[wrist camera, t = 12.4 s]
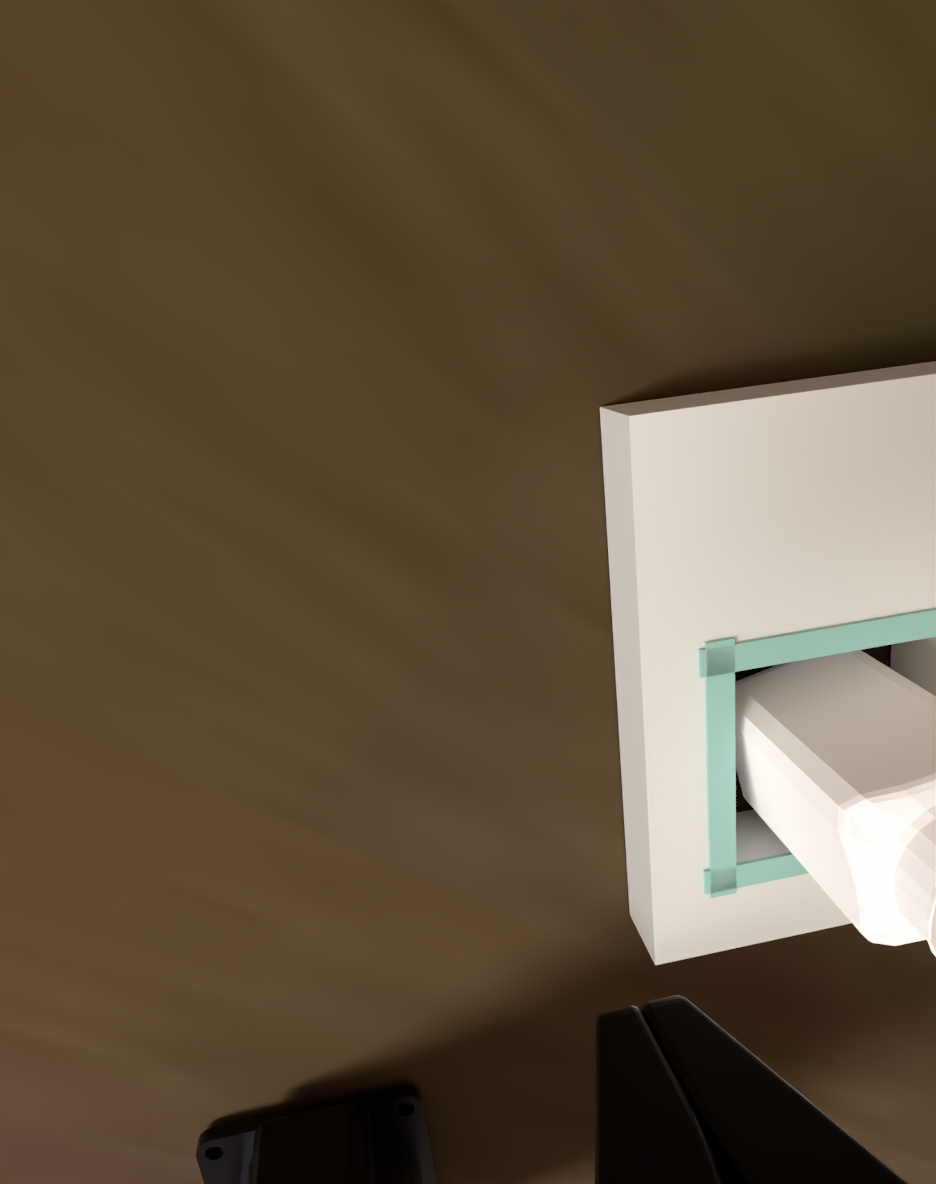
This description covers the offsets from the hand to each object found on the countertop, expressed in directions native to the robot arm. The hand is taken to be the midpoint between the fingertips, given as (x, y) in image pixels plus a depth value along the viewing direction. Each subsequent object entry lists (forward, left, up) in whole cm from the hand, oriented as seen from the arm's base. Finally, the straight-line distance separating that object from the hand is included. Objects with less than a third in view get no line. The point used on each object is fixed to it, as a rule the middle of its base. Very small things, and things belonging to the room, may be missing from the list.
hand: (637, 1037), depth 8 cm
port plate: (-3, -9, -13) cm, 16 cm away
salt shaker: (-5, -9, -13) cm, 17 cm away
